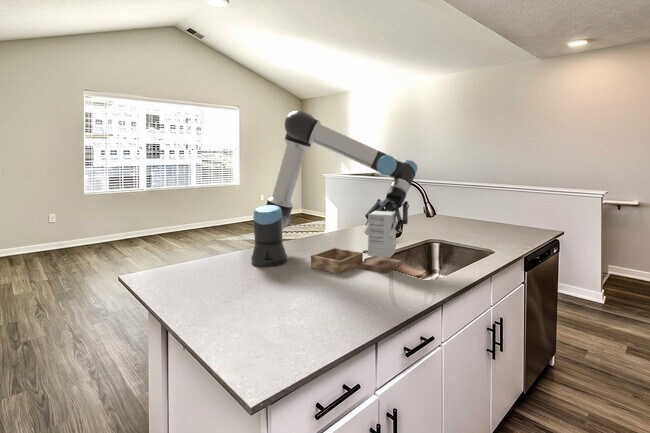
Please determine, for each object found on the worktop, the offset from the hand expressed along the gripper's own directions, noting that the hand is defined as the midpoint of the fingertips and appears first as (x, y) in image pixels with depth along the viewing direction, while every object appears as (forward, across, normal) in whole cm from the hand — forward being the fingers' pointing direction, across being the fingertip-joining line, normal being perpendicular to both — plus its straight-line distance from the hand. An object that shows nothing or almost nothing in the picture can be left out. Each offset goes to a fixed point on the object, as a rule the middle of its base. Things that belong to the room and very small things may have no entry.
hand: (378, 235), depth 150 cm
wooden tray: (+15, +15, -4) cm, 21 cm away
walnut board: (+8, 0, -11) cm, 14 cm away
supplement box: (+4, 0, -8) cm, 9 cm away
